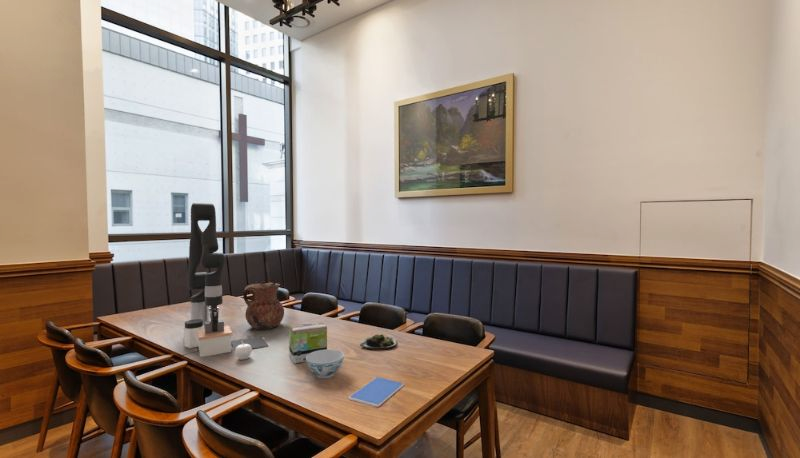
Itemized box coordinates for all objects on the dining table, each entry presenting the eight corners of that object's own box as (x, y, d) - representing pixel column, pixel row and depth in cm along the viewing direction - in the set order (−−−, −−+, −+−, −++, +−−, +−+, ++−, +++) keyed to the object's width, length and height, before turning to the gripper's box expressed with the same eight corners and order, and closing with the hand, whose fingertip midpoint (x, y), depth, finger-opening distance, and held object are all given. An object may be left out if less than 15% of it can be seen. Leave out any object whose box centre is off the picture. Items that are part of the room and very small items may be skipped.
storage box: (198, 348, 180) (198, 332, 180) (227, 343, 187) (227, 328, 187) (200, 357, 169) (200, 339, 169) (231, 351, 176) (231, 334, 176)
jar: (184, 349, 180) (184, 324, 180) (183, 344, 187) (183, 320, 186) (205, 345, 185) (204, 321, 185) (203, 341, 192) (203, 318, 191)
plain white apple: (235, 357, 169) (234, 339, 169) (251, 354, 172) (251, 337, 172) (234, 362, 163) (234, 344, 162) (252, 359, 165) (251, 342, 165)
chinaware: (309, 386, 139) (309, 365, 139) (303, 371, 153) (303, 352, 152) (348, 378, 145) (348, 359, 145) (339, 365, 159) (338, 347, 158)
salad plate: (361, 338, 195) (361, 329, 195) (395, 337, 196) (395, 329, 196) (359, 351, 176) (358, 341, 176) (396, 350, 176) (396, 341, 176)
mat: (230, 342, 190) (230, 341, 190) (261, 337, 197) (261, 336, 197) (235, 352, 175) (235, 351, 175) (268, 346, 183) (268, 345, 183)
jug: (270, 319, 232) (270, 279, 232) (292, 324, 220) (291, 283, 219) (237, 328, 214) (236, 285, 214) (258, 334, 202) (258, 288, 201)
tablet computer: (376, 379, 145) (376, 375, 145) (405, 385, 140) (405, 382, 139) (347, 400, 128) (347, 397, 128) (378, 409, 122) (378, 405, 122)
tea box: (293, 364, 159) (293, 330, 159) (289, 357, 168) (288, 324, 168) (327, 358, 166) (327, 325, 166) (321, 351, 175) (321, 320, 175)
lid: (197, 334, 180) (196, 320, 180) (228, 330, 188) (228, 316, 187) (198, 342, 168) (198, 327, 168) (232, 337, 176) (232, 323, 175)
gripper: (203, 293, 182) (204, 327, 182) (205, 298, 169) (206, 335, 170) (220, 291, 185) (221, 325, 186) (224, 296, 173) (224, 332, 174)
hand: (214, 330), depth 178 cm, fingers closed on lid, 4 cm apart
